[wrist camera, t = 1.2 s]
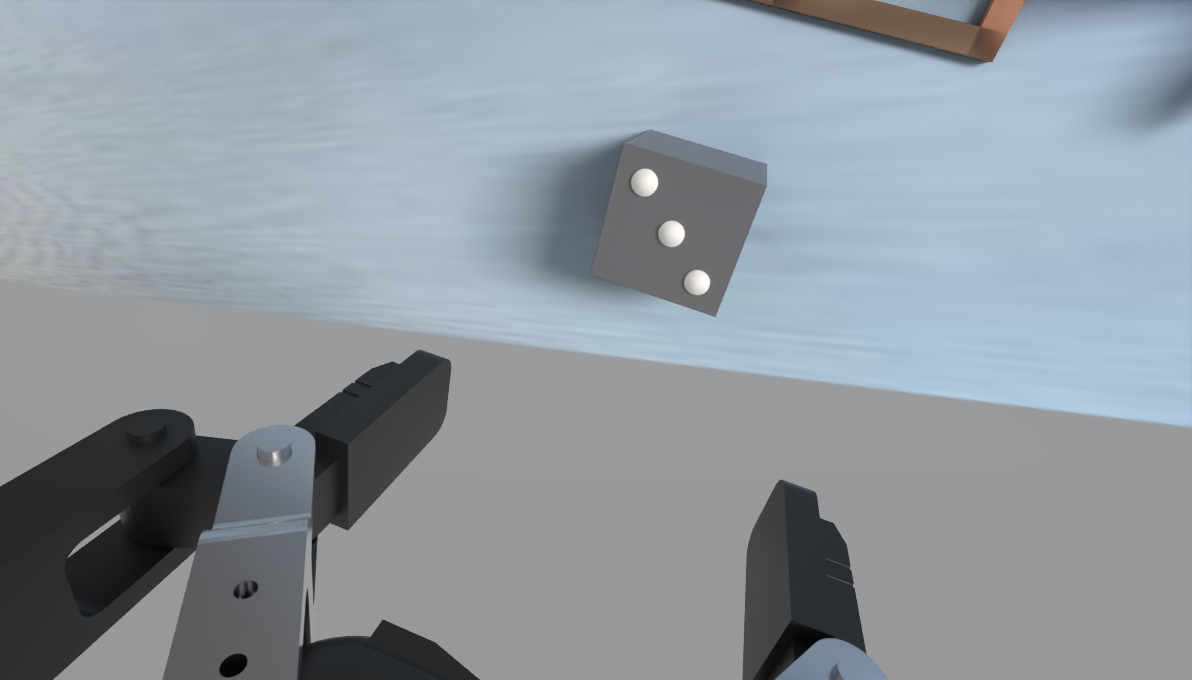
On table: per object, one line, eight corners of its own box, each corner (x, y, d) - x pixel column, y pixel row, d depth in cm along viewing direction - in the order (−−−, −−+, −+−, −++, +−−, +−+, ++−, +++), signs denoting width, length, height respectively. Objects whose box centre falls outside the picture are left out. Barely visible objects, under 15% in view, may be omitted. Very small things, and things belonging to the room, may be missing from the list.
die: (651, 129, 32) (622, 142, 26) (766, 163, 31) (766, 186, 25) (620, 240, 35) (589, 275, 29) (724, 274, 34) (715, 318, 28)
